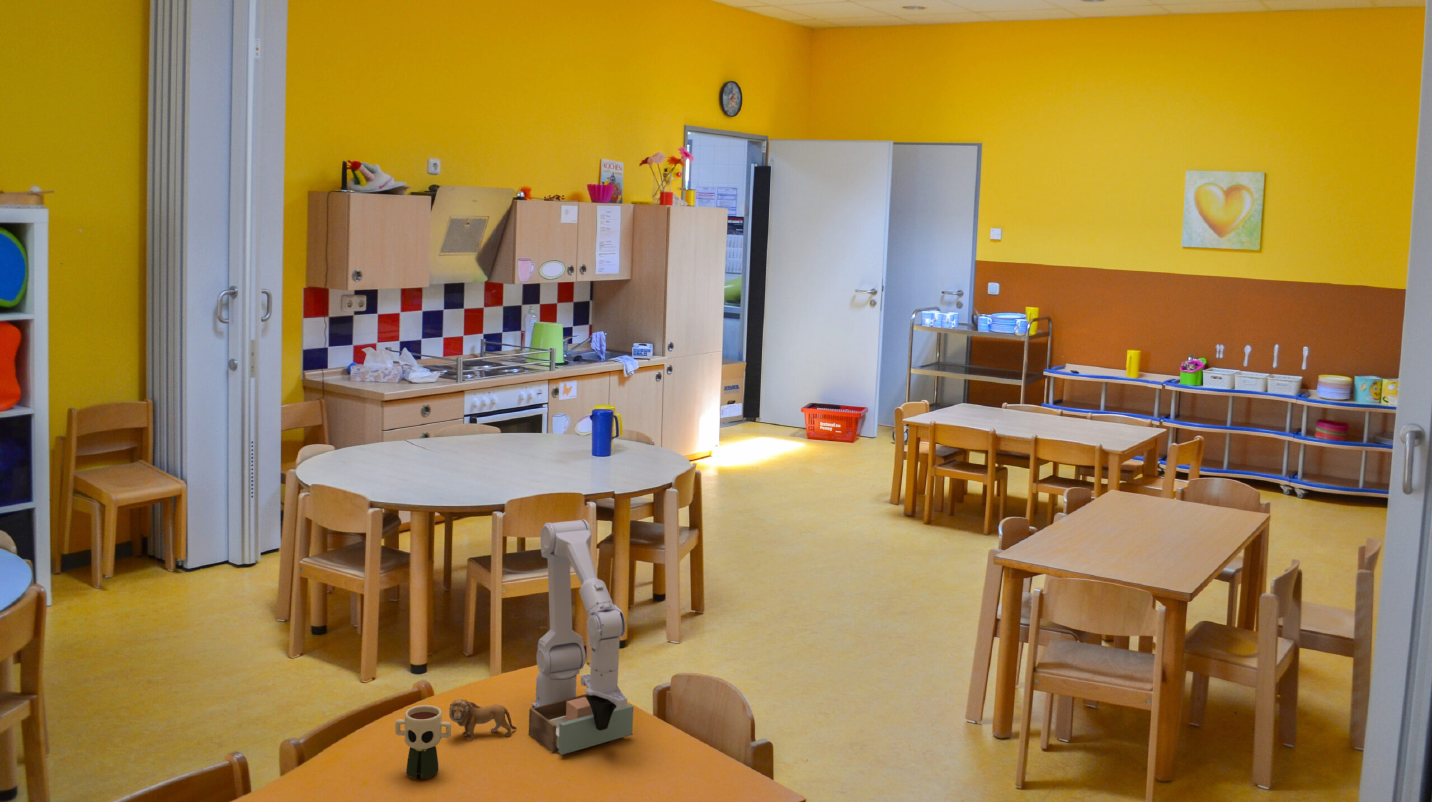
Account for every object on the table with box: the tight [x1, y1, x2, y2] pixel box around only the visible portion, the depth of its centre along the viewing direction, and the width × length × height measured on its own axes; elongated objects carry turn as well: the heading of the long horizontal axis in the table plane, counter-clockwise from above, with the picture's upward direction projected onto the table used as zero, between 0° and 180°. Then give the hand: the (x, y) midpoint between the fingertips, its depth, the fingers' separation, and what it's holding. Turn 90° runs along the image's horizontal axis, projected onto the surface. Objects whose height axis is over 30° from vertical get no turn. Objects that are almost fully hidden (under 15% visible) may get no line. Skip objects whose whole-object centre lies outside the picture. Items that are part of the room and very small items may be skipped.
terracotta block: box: [566, 697, 593, 721], centre depth 253 cm, size 4×4×6 cm
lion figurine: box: [448, 698, 517, 742], centre depth 251 cm, size 15×5×9 cm, turn 117°
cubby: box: [528, 693, 616, 754], centre depth 254 cm, size 10×18×6 cm, turn 129°
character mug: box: [394, 704, 452, 780], centre depth 232 cm, size 11×7×13 cm, turn 90°
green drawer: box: [549, 704, 634, 755], centre depth 251 cm, size 11×18×6 cm, turn 129°
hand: (601, 728), depth 246 cm, fingers closed
